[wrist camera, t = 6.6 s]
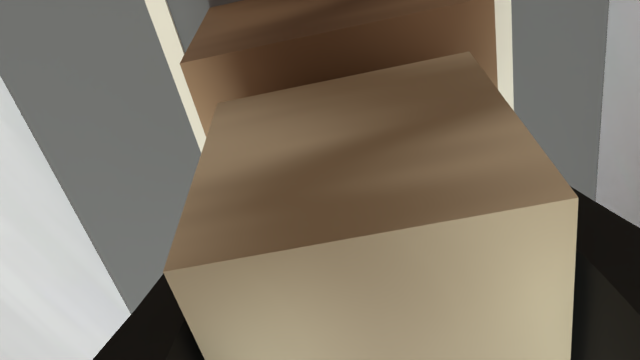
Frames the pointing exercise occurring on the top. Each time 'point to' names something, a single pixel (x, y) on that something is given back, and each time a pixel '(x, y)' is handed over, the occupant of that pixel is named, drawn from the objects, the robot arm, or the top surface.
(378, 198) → the maple cube
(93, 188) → the gray mat
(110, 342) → the robot arm
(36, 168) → the top surface
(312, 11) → the walnut block
